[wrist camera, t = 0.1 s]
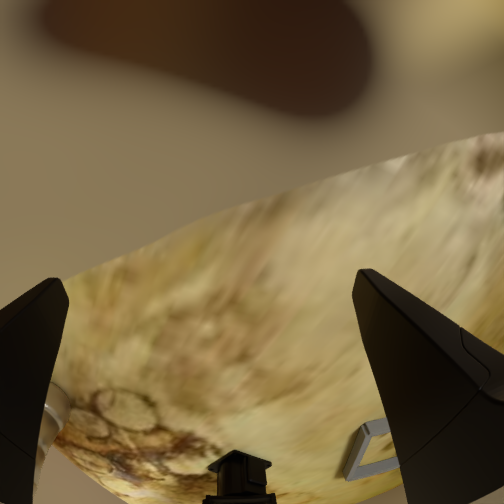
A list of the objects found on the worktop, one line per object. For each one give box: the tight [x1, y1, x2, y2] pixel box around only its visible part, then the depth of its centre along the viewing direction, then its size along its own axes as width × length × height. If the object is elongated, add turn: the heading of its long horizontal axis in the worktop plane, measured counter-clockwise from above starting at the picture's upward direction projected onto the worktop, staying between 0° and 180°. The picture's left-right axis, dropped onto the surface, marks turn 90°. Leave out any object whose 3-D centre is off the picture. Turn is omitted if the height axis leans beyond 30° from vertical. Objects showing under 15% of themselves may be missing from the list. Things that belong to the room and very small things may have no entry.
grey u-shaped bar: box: [343, 417, 400, 482], centre depth 34 cm, size 10×14×2 cm
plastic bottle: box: [33, 382, 71, 497], centre depth 19 cm, size 6×7×20 cm
